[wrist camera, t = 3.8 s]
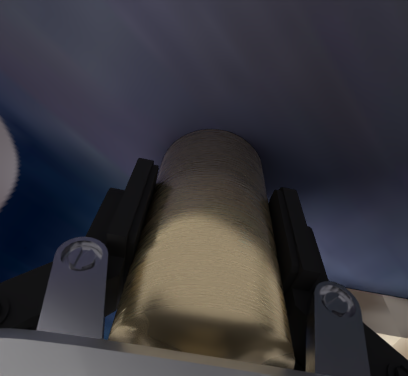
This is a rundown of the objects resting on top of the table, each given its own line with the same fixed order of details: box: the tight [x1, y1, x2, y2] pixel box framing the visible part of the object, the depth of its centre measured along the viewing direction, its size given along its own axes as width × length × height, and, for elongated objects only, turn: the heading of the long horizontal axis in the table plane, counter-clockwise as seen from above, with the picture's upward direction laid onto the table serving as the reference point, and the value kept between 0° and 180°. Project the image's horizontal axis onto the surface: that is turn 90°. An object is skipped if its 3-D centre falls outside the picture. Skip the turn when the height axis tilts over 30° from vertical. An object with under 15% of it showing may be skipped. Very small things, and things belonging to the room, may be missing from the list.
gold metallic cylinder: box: [108, 129, 295, 370], centre depth 11 cm, size 4×4×8 cm
